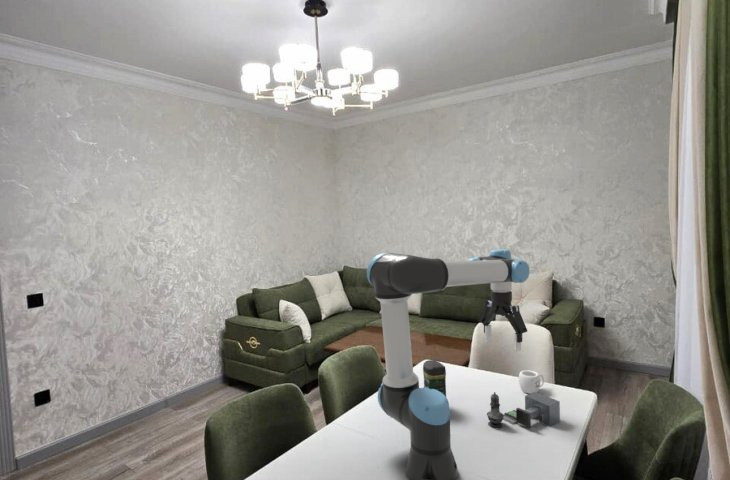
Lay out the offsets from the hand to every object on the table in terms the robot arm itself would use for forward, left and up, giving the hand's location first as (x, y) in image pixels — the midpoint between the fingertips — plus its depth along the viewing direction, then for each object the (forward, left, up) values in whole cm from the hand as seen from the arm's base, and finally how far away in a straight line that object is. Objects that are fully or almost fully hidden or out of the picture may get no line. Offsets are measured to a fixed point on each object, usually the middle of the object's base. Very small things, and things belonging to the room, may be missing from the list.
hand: (502, 346), depth 153 cm
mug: (+25, +6, -26) cm, 36 cm away
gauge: (+3, -9, -26) cm, 27 cm away
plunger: (0, -9, -25) cm, 26 cm away
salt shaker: (-10, -4, -26) cm, 28 cm away
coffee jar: (-19, +18, -26) cm, 37 cm away
